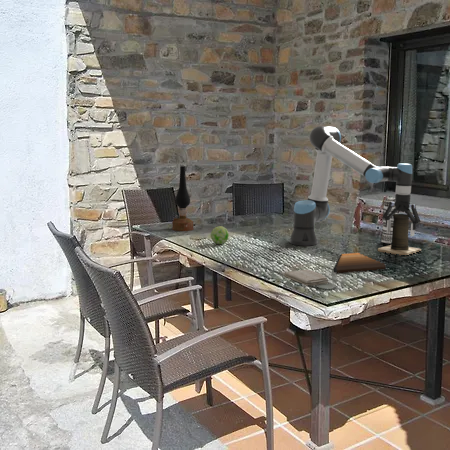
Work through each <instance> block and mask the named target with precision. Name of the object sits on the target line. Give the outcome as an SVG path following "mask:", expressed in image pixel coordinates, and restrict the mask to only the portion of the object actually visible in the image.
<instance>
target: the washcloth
mask: <svg viewBox="0 0 450 450" xmlns="http://www.w3.org/2000/svg"><path fill="white" fill-rule="evenodd" d="M284 277H286V278H288V279H290V280H293V281H295V282H297V283H300V284H302V285H304V286H306V287H308V286H317V285H324V284H325V285H326V284H328V283H329V279H328V277H327V276H324V275H323V274H322V273H318V272H316V271H314V270H311V269H309V268H308V269H300V270H293V271H288V272H287V271H286V272H285V273H284Z"/></svg>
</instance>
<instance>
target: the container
mask: <svg viewBox="0 0 450 450" xmlns="http://www.w3.org/2000/svg"><path fill="white" fill-rule="evenodd" d="M393 217H394V218H393V219H394V221H393V234H392V243H390V245H391V249H394V250H408V249H409V247H410V246H409V245H410V244H409V227H410V226H409V225H410V218H409V217H408V215H407V214H406V213H397V214H393Z"/></svg>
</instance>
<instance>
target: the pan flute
mask: <svg viewBox="0 0 450 450" xmlns="http://www.w3.org/2000/svg"><path fill="white" fill-rule="evenodd" d="M386 268H387V267H386V264H385V263H384V262H381V261H380V260H378V261H377V259H375V258H374V259H373V258H372V257H368V256H367V255H365V254H363V253H362V254H361V253H360V252H354V253H353V252H352V253H350V252H349V253H341V254H339V257H338V258H337V261H336V263H335V265H334V267H333V268H332V269H333V273H335V274H344V273H345V274H346V273H357V272H358V271H359V272H368V271H367V270H372V271H378V270H377V269H385V270H386Z"/></svg>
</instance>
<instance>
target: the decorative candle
mask: <svg viewBox="0 0 450 450" xmlns="http://www.w3.org/2000/svg"><path fill="white" fill-rule="evenodd" d="M383 201H384V203H383V204H384V205H383V207H382V216H383V215H384V213H385V212H386V210H387V208H388V206H389V202H392V201H393V202H395V197H386V198H385V200H383ZM394 208H395V205H394V206H393V207H392V209H391V211H390V213H391V212H392V211H393V209H394ZM390 213H389V214H390ZM389 214H388V215H389ZM395 214H400V211H397V212H396V213H395ZM393 218H394V217H393V216H392V217H391V218H390V219H389V220H391V231H390V232H388V233H387V226H386V219H384V218H383V217H382V222H383V223H382V229H381V231H382V232H381V234H382V235H381V238H380V241H381V243H385V244H391V243H392V234H393V221H394V219H393Z"/></svg>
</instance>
